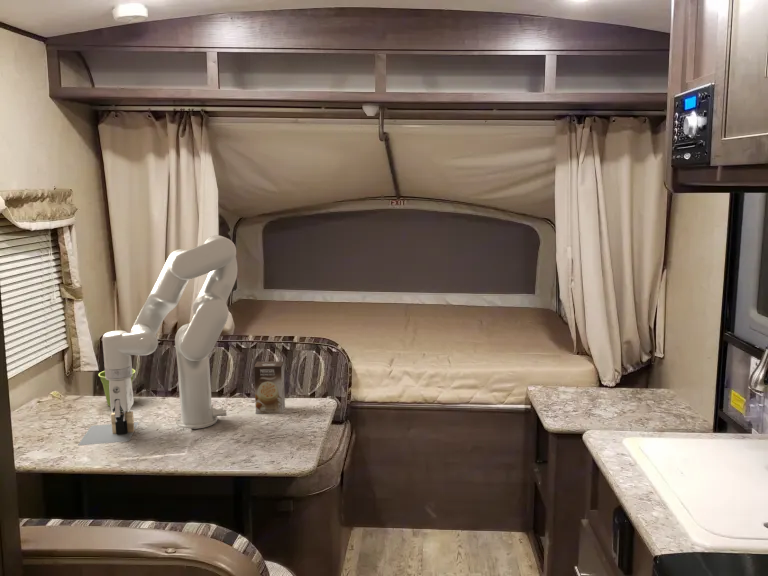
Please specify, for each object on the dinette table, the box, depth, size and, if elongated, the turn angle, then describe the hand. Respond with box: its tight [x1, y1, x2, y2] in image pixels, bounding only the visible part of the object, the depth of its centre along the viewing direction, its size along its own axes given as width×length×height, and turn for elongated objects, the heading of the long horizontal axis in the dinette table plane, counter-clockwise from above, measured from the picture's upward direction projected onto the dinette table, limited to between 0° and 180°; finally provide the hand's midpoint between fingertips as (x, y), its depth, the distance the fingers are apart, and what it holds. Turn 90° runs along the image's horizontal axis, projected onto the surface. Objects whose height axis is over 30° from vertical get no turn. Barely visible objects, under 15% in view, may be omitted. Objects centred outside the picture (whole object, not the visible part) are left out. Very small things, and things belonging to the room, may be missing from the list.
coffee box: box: [253, 361, 286, 415], centre depth 216 cm, size 9×6×16 cm
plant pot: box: [98, 368, 136, 407], centre depth 226 cm, size 12×12×11 cm
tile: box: [110, 410, 135, 434], centre depth 198 cm, size 6×2×6 cm, turn 101°
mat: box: [77, 421, 139, 446], centre depth 198 cm, size 14×16×1 cm
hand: (123, 430), depth 199 cm, fingers open, 3 cm apart
